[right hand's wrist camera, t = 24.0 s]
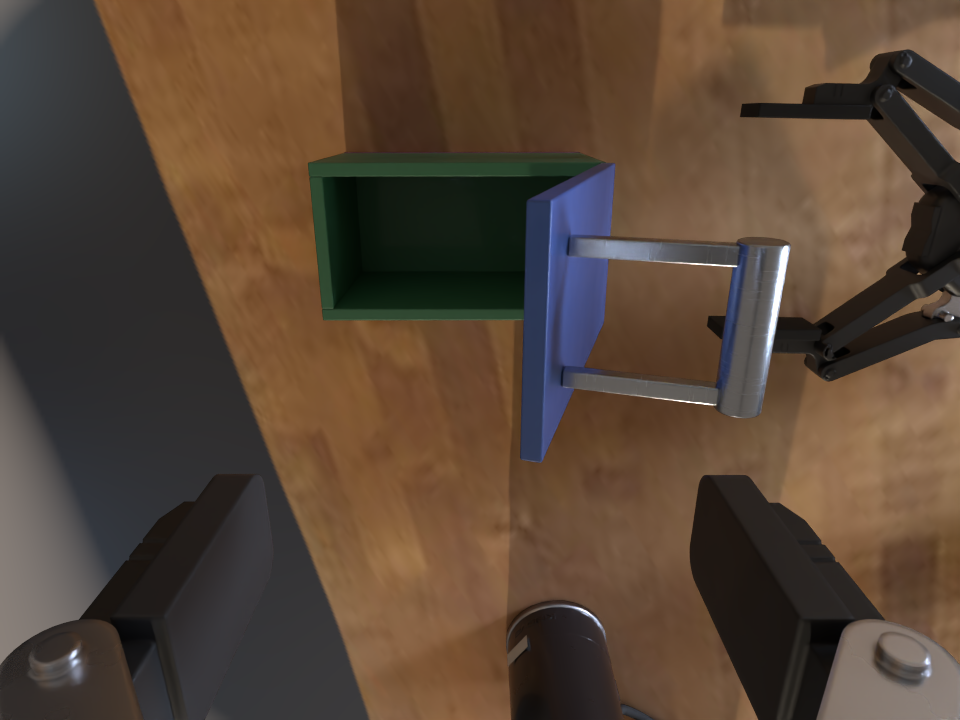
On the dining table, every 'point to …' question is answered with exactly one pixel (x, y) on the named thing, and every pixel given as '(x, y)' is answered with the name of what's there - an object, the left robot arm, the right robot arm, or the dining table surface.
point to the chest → (428, 231)
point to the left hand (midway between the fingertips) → (730, 225)
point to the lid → (581, 306)
